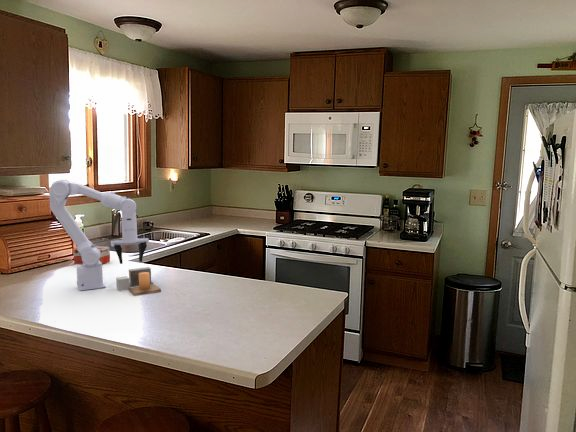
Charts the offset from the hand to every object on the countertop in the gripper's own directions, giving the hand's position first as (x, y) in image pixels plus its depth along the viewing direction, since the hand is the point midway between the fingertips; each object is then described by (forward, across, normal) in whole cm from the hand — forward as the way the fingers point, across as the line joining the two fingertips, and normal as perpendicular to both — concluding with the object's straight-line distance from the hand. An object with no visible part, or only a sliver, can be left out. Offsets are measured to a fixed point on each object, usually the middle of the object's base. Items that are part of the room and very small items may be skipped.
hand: (130, 262), depth 193 cm
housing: (+9, -3, +2) cm, 10 cm away
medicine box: (+9, +9, -51) cm, 52 cm away
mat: (+9, -2, +14) cm, 16 cm away
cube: (+9, +4, +6) cm, 12 cm away
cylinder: (+8, -2, +14) cm, 16 cm away
